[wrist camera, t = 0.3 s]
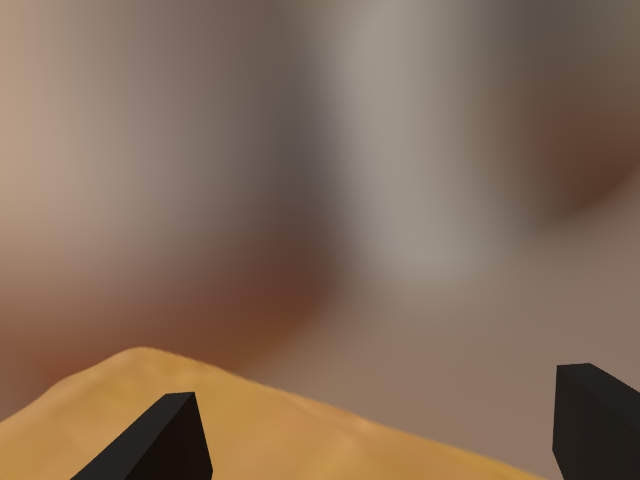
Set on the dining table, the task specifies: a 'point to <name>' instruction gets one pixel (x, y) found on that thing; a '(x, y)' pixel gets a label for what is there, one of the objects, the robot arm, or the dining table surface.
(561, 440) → the robot arm
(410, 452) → the dining table surface
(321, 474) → the dining table surface
